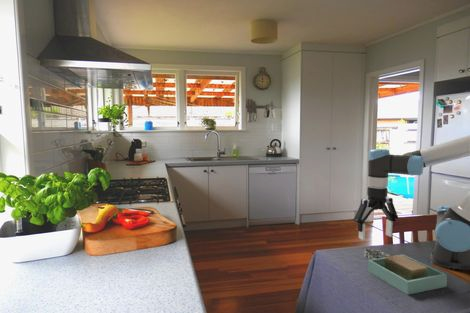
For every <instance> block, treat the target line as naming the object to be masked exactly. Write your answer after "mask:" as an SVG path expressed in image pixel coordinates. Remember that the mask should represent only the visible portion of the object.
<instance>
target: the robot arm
mask: <svg viewBox="0 0 470 313" xmlns="http://www.w3.org/2000/svg"><path fill="white" fill-rule="evenodd" d="M468 157H470V134H469V135H466V136H463V137H459V138H456V139H453V140H449V141H446V142H442V143H439V144H435V145H431V146H428V147H424V148H421V149H418V150H414V151H411V152H410V151H409V152H406V153H404V154H391V153H390V150H389V149H385V148H373V149H370V150H369V152H368V159H367V162H368V165H367V170H368V171H367V186H368V187H367V192H366V193H367V199H365V198H361V199H360V205H359V207H358V209H357V211H356V213H355V216H354V218H353V222H355V223H357V231H358V239H360V240H362V241H365V240H366V237H365V236H366V221H367V219H369V216H370V215H371V214H372V213H373V212H374V211H377V210H381V211H382V213H383V215H385V217H386V218H387V219H386V220H385V236H388V237H390V238H392V237H393V228H394V222H397V220H398V219H399V215H398V213H397V210H396V208H395V205H394V199H393V198H392V197H389V196H388V187H389V174H396V175H404V176H405V175H407V176H421V175H423V173H424V168H427V167H431V166H435V165H439V164H443V163H447V162H450V161H451V162H452V161H454V160H459V159H462V158H463V159H464V158H468ZM434 235H435V238H436V241H435V243H434V246H433V247H432V250H431V252H430V261H431V262H432V263H434V264H436V265H437V266H441V267H442V268H446V267H447V268H446V269H450V268H453V269H452V270H455V269H459V270H458V271H470V190H469V191H467V193H466V195H465V196H464V197H463V198H462V200H461V201H460V202H459V203H458V204H457V205H438V207H437V210H436V224H435V230H434Z"/></svg>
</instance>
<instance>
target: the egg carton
mask: <svg viewBox="0 0 470 313" xmlns="http://www.w3.org/2000/svg"><path fill="white" fill-rule="evenodd" d="M363 250H364V257H368V260H371V259H377V258H378V257H379V258H384V257H388V256H391V255H390V254H389V253H385V252H384V251H383V252H382V251H380V250H379V249H376V250H375V248H365V247H364V248H363Z"/></svg>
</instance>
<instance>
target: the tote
mask: <svg viewBox="0 0 470 313" xmlns="http://www.w3.org/2000/svg"><path fill="white" fill-rule="evenodd" d="M401 255H402V256H404V257H406V258H408V259H410V260H413V261H415V262H417V263H419V264H421V265H423V266H425V267H428V270H427V277H424V278H419V279H414V280H408V281H407V280H406V279H404V278H402V277H400V276H398V275H397V274H395V273H393V272H391V271H389V270H388V269H386V268H385V257H384V258H383V257H379V258H378V257H377V258H376V259H368V260H367V272H368V273H371V274H372V275H374V276H375V277H377V278H379V279H381V280H382V281H384V282H386V283H387V284H389V285H390V286H392V287H394V288H395V289H398V290H399V291H400V292H402V293H404V294H406V295H408V296H409V295H413V294H417V293H424V292H427V291H433V290H436V289H437V290H438V289H443V288H447V287H448V286H447V284H448V283H447V281H448V280H447V279H448V274H447V273H444V272H442V271H440V270H438V269H436V268H433V267H431V266H429V265H427V264H424V263H422V262H420V261H418V260H416V259H414V258H412V257H410V256H408V255H405V254H401Z"/></svg>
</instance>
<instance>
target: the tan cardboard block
mask: <svg viewBox="0 0 470 313" xmlns="http://www.w3.org/2000/svg"><path fill="white" fill-rule="evenodd" d="M402 255H403V254H397V255H396V254H395V255H390V256H388V257H385V268H386V269H388V270H389V271H391V272H393V273H395V274H397V275H398V276H400V277H402V278H404V279H406V280H407V281H408V280H414V279H419V278H424V277H427V270H428V267H425V266H423V265H421V264H419V263H417V262H415V261H413V260H410V259H408V258H406V257H404V256H402Z"/></svg>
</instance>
